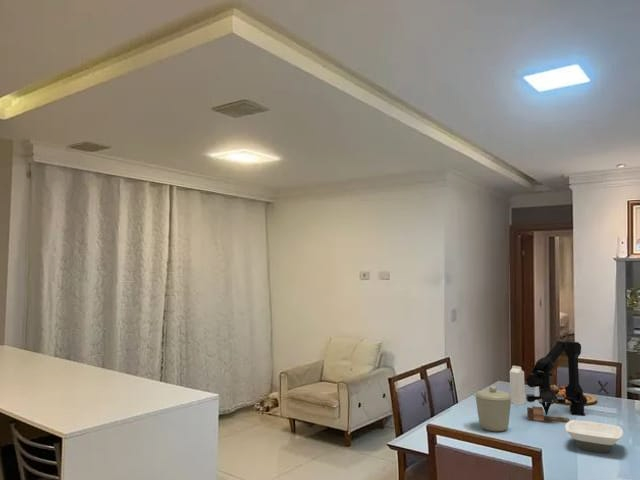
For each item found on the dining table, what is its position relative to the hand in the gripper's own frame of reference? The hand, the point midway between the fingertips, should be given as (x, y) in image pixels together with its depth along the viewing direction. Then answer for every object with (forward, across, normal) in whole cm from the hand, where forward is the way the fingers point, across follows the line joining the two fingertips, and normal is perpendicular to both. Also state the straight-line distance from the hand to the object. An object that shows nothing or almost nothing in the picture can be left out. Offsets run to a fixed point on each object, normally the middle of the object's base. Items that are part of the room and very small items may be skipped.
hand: (546, 415), depth 268 cm
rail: (+3, +1, 0) cm, 3 cm away
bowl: (+4, +14, -40) cm, 43 cm away
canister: (+2, -28, -24) cm, 36 cm away
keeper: (+2, -4, 0) cm, 5 cm away
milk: (+2, -12, +32) cm, 34 cm away
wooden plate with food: (+4, +18, +52) cm, 55 cm away
